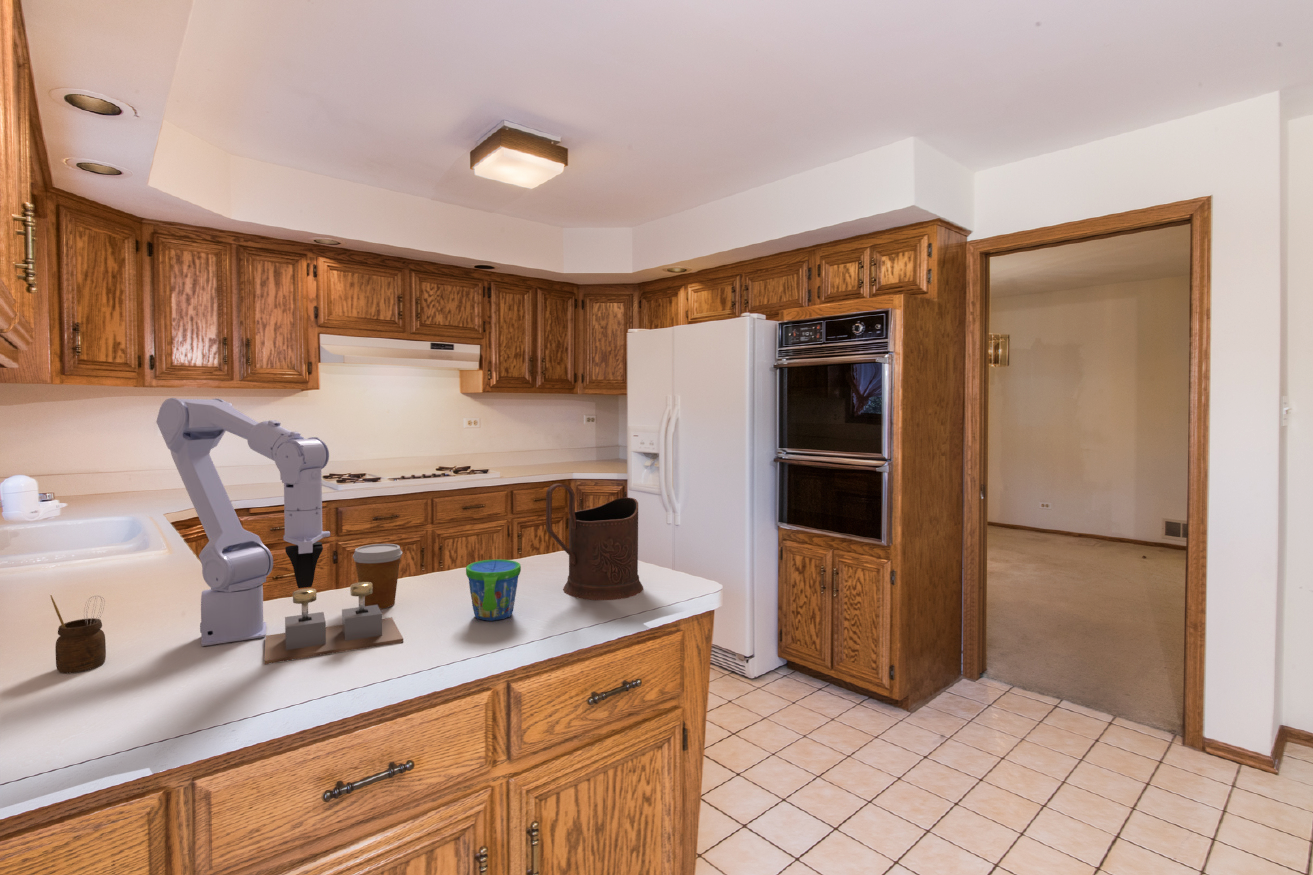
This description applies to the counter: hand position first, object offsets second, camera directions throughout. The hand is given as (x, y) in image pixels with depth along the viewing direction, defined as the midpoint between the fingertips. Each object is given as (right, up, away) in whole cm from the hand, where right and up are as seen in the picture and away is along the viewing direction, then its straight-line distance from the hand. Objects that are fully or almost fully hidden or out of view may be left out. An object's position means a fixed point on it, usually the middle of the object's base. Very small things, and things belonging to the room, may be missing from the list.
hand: (304, 586), depth 113 cm
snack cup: (+28, -10, +17) cm, 35 cm away
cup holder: (+46, -9, +36) cm, 59 cm away
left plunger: (0, -6, 0) cm, 6 cm away
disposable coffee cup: (+3, -9, +23) cm, 25 cm away
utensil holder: (-30, -11, -10) cm, 33 cm away
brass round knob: (+8, -6, +5) cm, 11 cm away
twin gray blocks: (+4, -10, +3) cm, 11 cm away
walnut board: (+4, -10, +3) cm, 11 cm away
